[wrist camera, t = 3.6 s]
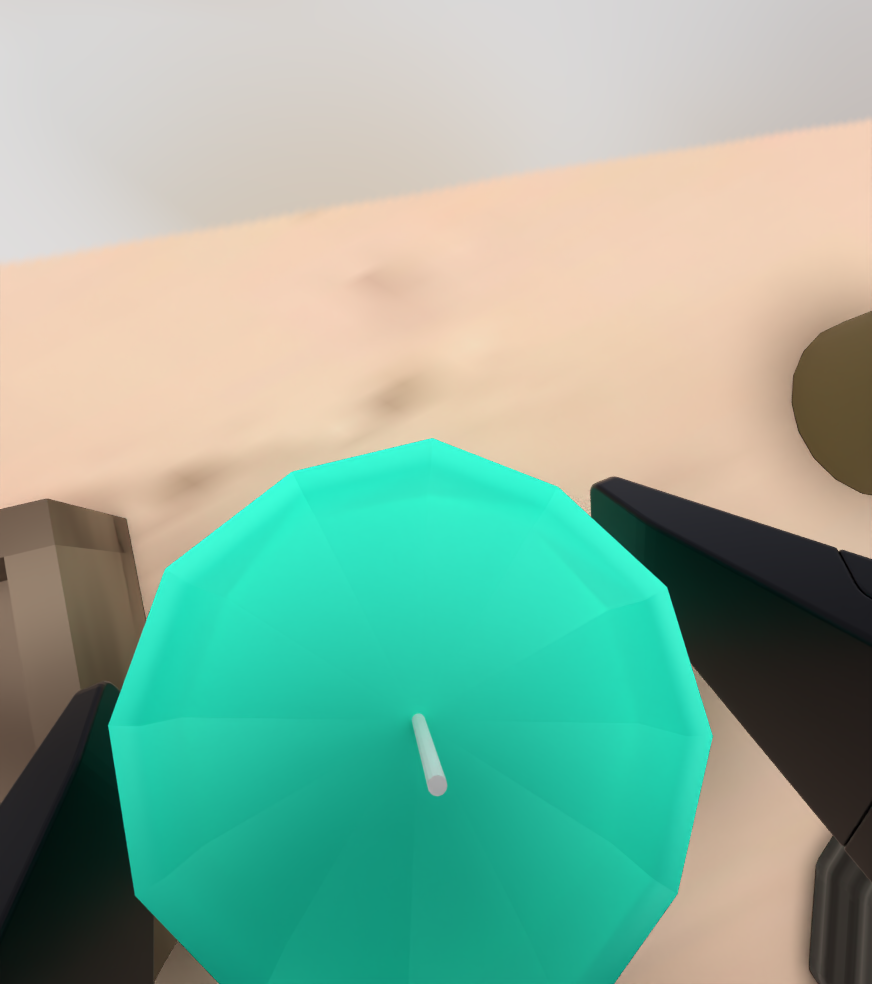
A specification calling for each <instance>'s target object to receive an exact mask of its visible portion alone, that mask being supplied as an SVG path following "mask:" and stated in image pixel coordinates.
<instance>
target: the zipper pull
mask: <svg viewBox="0 0 872 984" xmlns="http://www.w3.org/2000/svg"><path fill="white" fill-rule="evenodd" d="M844 847H845V846H842V845H841V844H840V843H839V842H838V841H837V840H836V838H835V837H834V836H833V837H832V838H831V840H830V841H829V843H828V845H827V846H826V848H825V849H824V851H823V852H822V854H821V856H820V857H819V859H818V861H817V863H816V876H815V890H814V905H813V919H812V933H811V947H810V961H809V966H810V971H811V973H812V975H813V976H814V978H815V979H816V981H817V982H818V983H819V984H872V883H871V881H870V880H869V879H868V878H867V877H866V875H865V874H864V873H863V872H862V870H861V869H860V868H859V867H858V866H857V864H856V863H855V862H854V861H853V860H852V858H851V857H850V856H849V855H848V854H847V852H846V851H845V850H844Z"/></svg>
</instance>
